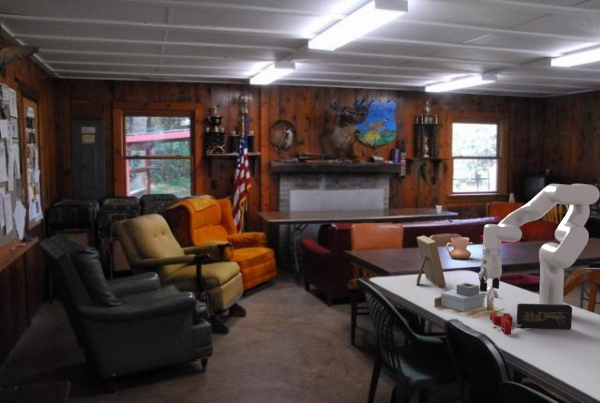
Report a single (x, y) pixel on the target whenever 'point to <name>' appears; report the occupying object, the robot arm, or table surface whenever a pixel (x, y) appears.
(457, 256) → the ceramic jug
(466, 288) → the square socket plate
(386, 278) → the table surface
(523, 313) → the nameplate
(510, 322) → the red block assembly
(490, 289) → the handle peg
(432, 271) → the photo frame
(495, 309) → the bay
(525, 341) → the table surface
